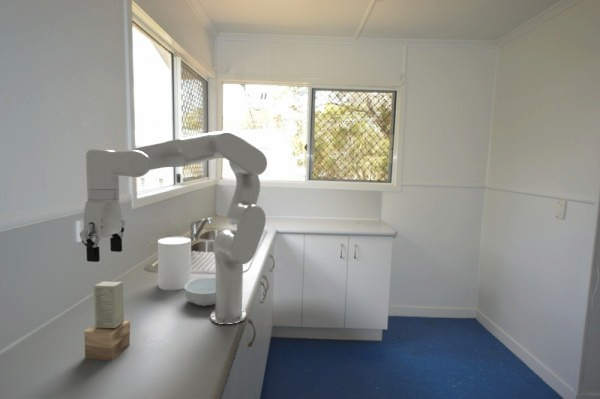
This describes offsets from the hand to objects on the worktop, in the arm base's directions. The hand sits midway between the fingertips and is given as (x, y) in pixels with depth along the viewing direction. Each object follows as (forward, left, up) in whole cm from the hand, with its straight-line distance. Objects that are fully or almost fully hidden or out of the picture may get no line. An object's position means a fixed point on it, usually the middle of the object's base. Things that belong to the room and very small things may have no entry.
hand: (105, 256), depth 93 cm
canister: (-52, -4, -28) cm, 59 cm away
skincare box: (0, 0, -21) cm, 21 cm away
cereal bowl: (-37, +16, -28) cm, 49 cm away
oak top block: (0, 0, -25) cm, 25 cm away
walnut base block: (0, 0, -29) cm, 29 cm away
